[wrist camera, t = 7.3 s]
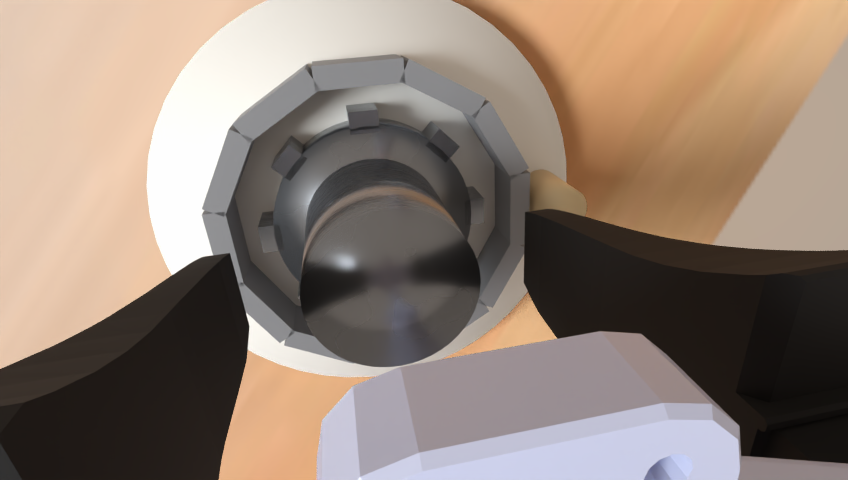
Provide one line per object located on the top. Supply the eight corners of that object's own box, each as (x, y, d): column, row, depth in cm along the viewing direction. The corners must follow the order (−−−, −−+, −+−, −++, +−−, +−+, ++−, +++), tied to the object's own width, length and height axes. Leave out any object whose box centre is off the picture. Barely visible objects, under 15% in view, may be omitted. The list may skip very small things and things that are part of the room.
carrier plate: (547, 329, 20) (581, 377, 17) (217, 387, 18) (198, 451, 16) (563, -33, 14) (618, -45, 12) (92, -1, 13) (31, -6, 10)
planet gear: (475, 285, 17) (531, 383, 13) (285, 314, 16) (269, 432, 12) (470, 93, 14) (540, 128, 10) (241, 115, 14) (198, 166, 9)
